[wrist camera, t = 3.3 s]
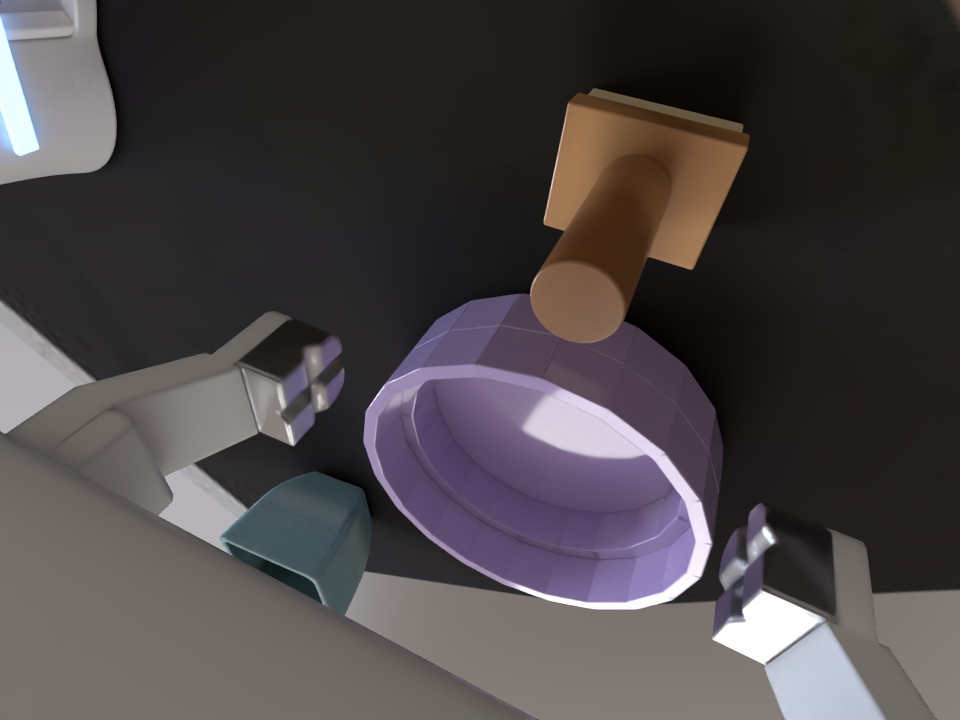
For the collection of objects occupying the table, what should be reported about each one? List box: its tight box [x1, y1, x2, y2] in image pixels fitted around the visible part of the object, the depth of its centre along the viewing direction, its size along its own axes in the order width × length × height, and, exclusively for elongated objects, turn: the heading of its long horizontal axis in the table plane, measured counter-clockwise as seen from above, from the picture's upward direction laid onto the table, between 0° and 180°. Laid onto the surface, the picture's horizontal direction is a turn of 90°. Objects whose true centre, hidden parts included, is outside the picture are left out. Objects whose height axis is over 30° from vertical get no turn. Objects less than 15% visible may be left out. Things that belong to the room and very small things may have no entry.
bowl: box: [364, 294, 724, 610], centre depth 28 cm, size 17×17×6 cm
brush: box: [530, 88, 750, 343], centre depth 16 cm, size 6×4×10 cm
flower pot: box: [220, 472, 372, 616], centre depth 44 cm, size 9×9×9 cm
